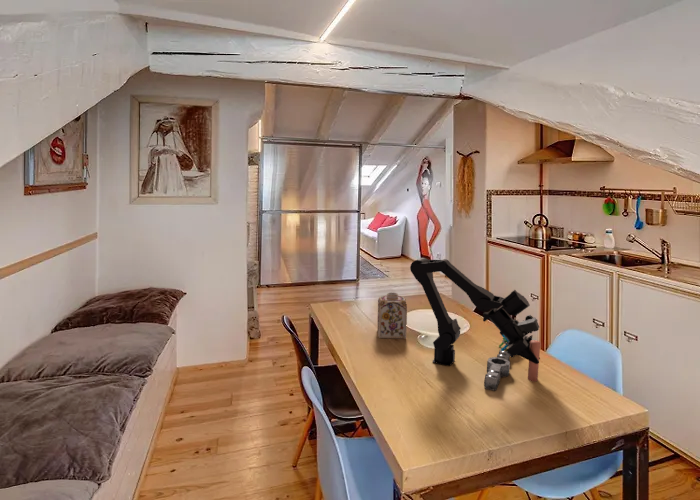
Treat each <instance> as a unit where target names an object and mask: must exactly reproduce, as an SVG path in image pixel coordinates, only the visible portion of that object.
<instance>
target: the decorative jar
mask: <svg viewBox="0 0 700 500" xmlns="http://www.w3.org/2000/svg"><path fill="white" fill-rule="evenodd" d="M407 321H408V304H407V300H406V298H405V297H403V296H401V295H399V294H398V293H397V292H387V294H386V295H381V296H379V298H378V300H377V335H378V338H379V339H407V329H408V328H407V326H406V325H408V322H407Z"/></svg>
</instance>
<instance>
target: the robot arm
mask: <svg viewBox="0 0 700 500" xmlns="http://www.w3.org/2000/svg"><path fill="white" fill-rule="evenodd" d="M409 269H410V272H411V274H412V276H413V277H414V278H415V280H416V281H417V282H418V283H419V284H420V285H421V287H422V289H423V292H424V293H425V295H426V299H427V300H428V303H429V305H430V307H431V310H432V313H433V314H434V316H435V317H434V318H435V319H436V321H437V332H438V337H436V339H434V340H433V342H432V344H433V347H434V348H433V349H434V350H433V356H434V357H433V360H432V363H433V364H439V365H443V366H449V367H451V365H452V364H453V363H454V362H455V359H456V356H455V355H456V350H455V348H454V347H455V346H454V345H453V344H454V343H456V341H457V340H458V339H459V338H460V336H461V329H462V328H461V326H460V325H459V323H458V320H457V318H455V319H454V318H453V319H452V317H450V315H449V314H448V311H447V308H446V306H445V304H444V301H443V299H442V297H441V295H440V293H439V290H438V287H437V285H436V283H435V281H434V273H437V272H438V273H442V274H443V275H444V276H446V277H447V279H449V280H450V281H451V282H453V284H455V285H456V286H457V287H458V288H460V289H461V290H462V291H463V292H464V293H465V294H466V295H467V296H468V298H469V300H470V301H471V303H472V304H473V305H474V306H475V308H476V309H477V310H479V311H480V312H483V313H482V315H483V320H482V321H483V322H484V323H485V322H487V321H488V320H490V321H491V322H492V323H493V324H494V326H495V327H496V328H497V329H498V330H499V334H500V335H501V336H502V335H504V336H505V337H506V338H507V339H508V340H509V342H508V343H509V344H510V345H509V347H507V351H506V352H507V353H508V354H509V355H510V358H514V357H515V356H519V357H521V358H523V359H525V360H528V362H529V361H531V362H533V363H535V364H538V363H539V364H540V360H541V357H540V356H539V361H538V359H537V357H536V356H535V354H534V353H533V351H532V350H531V348H530V341H531V340H533V335H531V334H532V333H533V332H538V331H539V330H540V329H539V328H540V324H539V323H538V319H537V318H536V317H534V316H533V315H531V314H528V315H526V316H525V317H524V320H522V321H518V319H514V318H512V317H511V316H515V317H517V316H518V315H519V314H520V313H522V312H523V311H524V310H527V308H529V307H530V303H529V301H528V299H527V298H526V297H525V296H524V295H523V294H521V293H520V292H518V291H517V290H516V289H513V290H512V291H511V292H510V293H509V294H508V295H506V297H502V296H498V295H494V293H493V292H491V291H489V290H487V289H486V288H485V287H482V286H480V285H478V284H476V283H474V282H473V281H472V280H471V279H470V278H469V277H468V276H466V275H465V274H464V273H463V272H461V270H459V269H458V268H457V267H456V266H455V265H453V264H452V263H451V262H450V260H449V259H446V258H444V259H429V258H426V257H419V258H418V259H416V260H413V261H412V262H411V264H410V266H409ZM529 334H530V335H529ZM528 335H529V336H528Z"/></svg>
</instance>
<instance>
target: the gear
mask: <svg viewBox="0 0 700 500" xmlns="http://www.w3.org/2000/svg"><path fill="white" fill-rule="evenodd" d="M501 337H503V338H502V340H501V341H502V342H501V343H500V344H499V345H498V347H499V348H500V350H501V351H505V350H506V349H508V347H509V345H510V344H509V343H508V342H509V340H508V339H507V338H506V337H505V336H504V335H501ZM503 345H504V346H503ZM501 347H502V348H501Z"/></svg>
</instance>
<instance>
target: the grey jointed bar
mask: <svg viewBox="0 0 700 500" xmlns="http://www.w3.org/2000/svg"><path fill="white" fill-rule="evenodd" d="M507 352H508V351H507V350H506V351H505V350H504V351H501V349H499V351H498V354H496V356H494V357H489V358H488V359H487V361H486V373H485V376H484V381H483V387H484V389H485V390H489V391H490V390H491V391H494V392H495V391H497V390H498V387H499V385H500V384H501V383H500V382H501V378H507V377H509V376H510V370H511V369H510V367H511V362H510V358H511V356H510V355H509V354H508V353H507Z"/></svg>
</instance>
